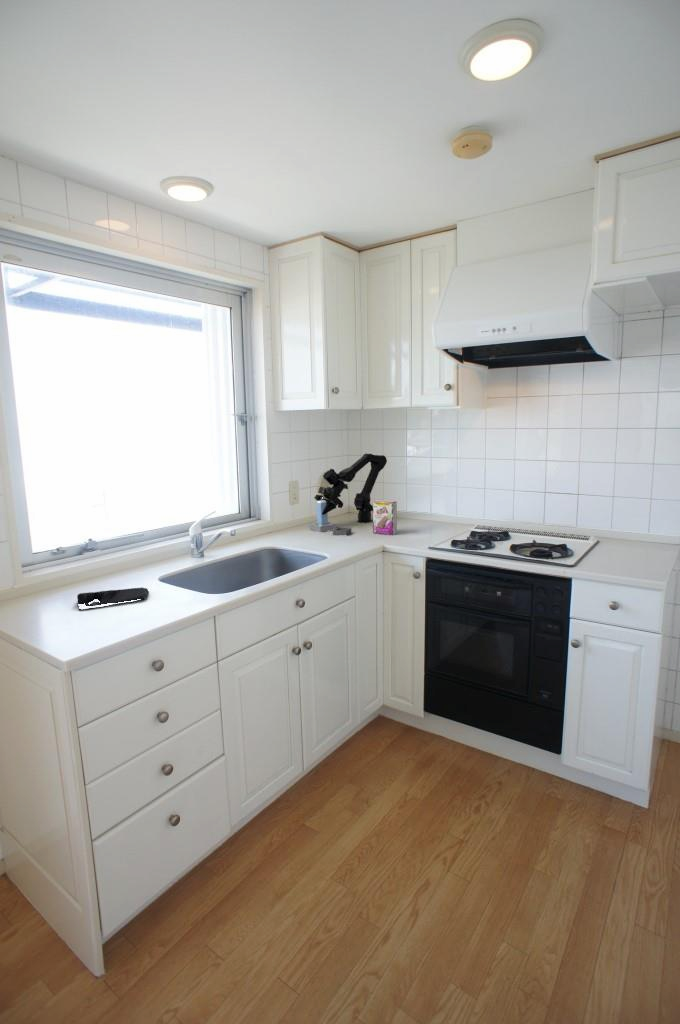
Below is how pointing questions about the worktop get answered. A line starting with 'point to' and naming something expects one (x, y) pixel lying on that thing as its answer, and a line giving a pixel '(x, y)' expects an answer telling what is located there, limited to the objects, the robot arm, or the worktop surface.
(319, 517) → the light blue tall block
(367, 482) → the robot arm
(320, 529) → the port
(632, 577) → the worktop surface
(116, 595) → the dark slate chunk
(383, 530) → the candy bar box
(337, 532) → the holster
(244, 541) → the worktop surface
